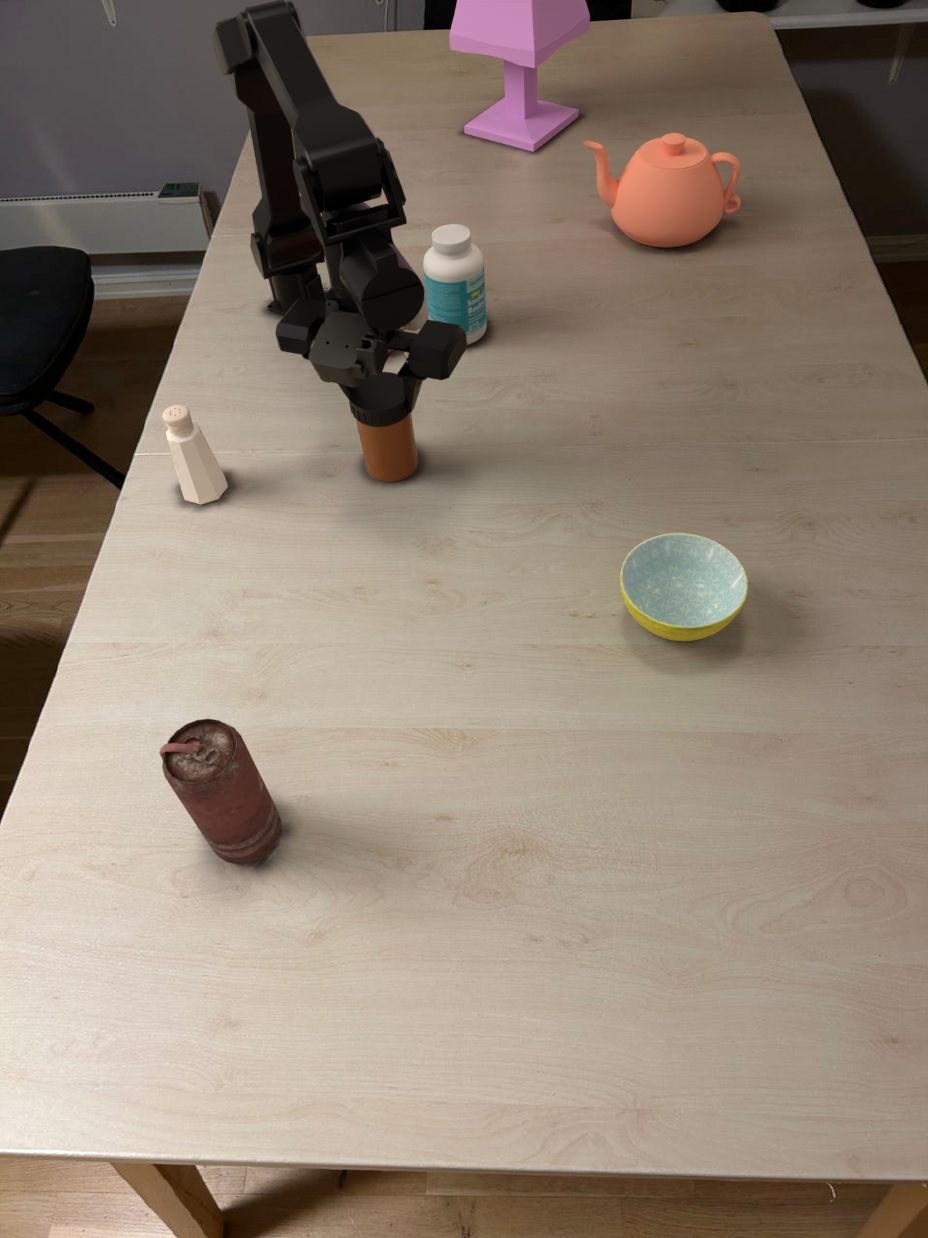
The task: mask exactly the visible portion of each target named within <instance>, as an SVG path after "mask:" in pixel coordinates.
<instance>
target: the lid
mask: <svg viewBox="0 0 928 1238" xmlns="http://www.w3.org/2000/svg"><path fill="white" fill-rule="evenodd" d="M397 374H398V373H395V372H392V371H382V373H381V374H380V375H379V376H378V375H370V376H369V378H368V379H365V381H364V383H363V384H362V385H360V386H358V387H351V388H350V390H349V400H348V401H349V402H348V403H349V407H350V412H351V414H352V416H353V419H355V420H358V421H359V422H360V423H362V424H365V425H368V426H373V427H383V426H389V425H393V424H395V423H398V422H400V421H401V420H403V419H404V418H405V417H407V415H408V414H409V413H408V412H407V409H406V405H405V398H404V387H403V379H402V378H400V377H398V376H397Z"/></svg>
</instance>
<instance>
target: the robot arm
mask: <svg viewBox="0 0 928 1238" xmlns="http://www.w3.org/2000/svg"><path fill="white" fill-rule="evenodd" d="M214 27H215V28H214V30H213V32H212V35H211V41H212V42H211V43H212V47H213V52H214V54H215V58H216V61H217V64H218V66H219V69H220V71H221V74H222V75H223V76H227V78H228V80H229V83H230V85H231V87H232V89H233V91H234V93H235V96H236V97H237V100H239V101H240V102H241V103H242V104H243V105H244V106H245V108H246V112H247V113H246V114H247V119H248V125H249V130H250V136H251V142H252V148H253V153H254V158H255V164H256V170H257V175H258V181H259V187H260V194H261V198H260V200H259V201H258V203H257V205H256V206H255V208H254V210H253V212H252V214H251V217H252V224H253V225H252V226H253V231H254V232H251V233H250V242H249V243H250V244H249V246H250V248H249V249H250V251H251V254H252V257H253V260H254V264H255V265H256V267H257V269H258V271H259V273H260V274H261V276H262V278H263V280H268V283H269V286H270V291H271V294H272V299H273V300H272V301H271V302H269V304H268V305H267V306H266V310H267V311H268V312H271V313H274V314H278V315H281V316H283V317H282V318H281V319H280V320H279V321H278V323H277V324H276V326H275V332H274V335H275V339H276V341H277V342H276V343H277V346H278V349H279V350H280V351H281V352H285V353H291V354H295V355H300V356H301V357H302V359H304V360H306V361H309V362H310V364H311V365H312V367H313V369H314V371H315V372H316V374H317V375H318V377H319V379H320V380H321V381H322V382H324V383H328V384H329V383H333V384H334V383H335V384H337V386H338V387H339V388H340V390H341V391H342V393H343V394H344V396H345V397H346V398H347V400H348V401H349V390H350V388H351V387H358V386H360V385H362V384H363V383H364V381H365V379H368V378H369V376H370V375H378V376H379V375H380V374H381V373H382V372H384V369H385V365H386V363H387V361H388V358H389V353H388V349H390V350H393V351H396V352H402V353H404V358H405V360H404V361H405V362H404V363H403V364H402V366H401V367H400V369H399V371H398V372H397V373H396V374H397V376H398V377H400V378H402V379H403V387H404V398H405V405H406V409H407V412H408V413H411V414H412V413H413V411H414V409H415V407H416V404H417V401H418V397H419V394H420V392H421V388H422V385H423V383H424V382H423V381H426V380H427V379H432V380H437V381H444V380H447V379H450V377H451V375H452V374H453V373H454V370H455V369H456V368H457V365H458V364H459V362H460V360H461V359H462V356H463V355H464V353H465V352H466V350H467V349H468V345H467V338H466V332H465V330H464V329H463V327H462V326H460V325H458V324H452V323H446V322H440V321H434V320H429V318H428V319H426V321H425V322H424V324H423V325H422V326H421V327H419V328H417V329H415V330H412V329H409V330H406V329H400V328H402V327H403V326H405V325H407V324H409V323H410V324H411V322H413V320H415V318H416V317H417V316H418V315H419V313H420V312H421V310H422V308H423V305H424V301H425V295H426V290H425V285H424V284H423V282H422V280H421V279H420V276H419V275H418V274H417V273H416V271H415V270H414V269H413V267H412V266H411V264H410V263H409V262H408V260H407V259H406V258H405V256H403V254H402V253H401V251H400V250H399V249H398V248H397V246H396V244H395V242H394V240H393V235H392V229H394V228H398V227H402V226H404V225H407V224H408V221H407V217H406V213H405V210H404V206H405V204H406V202H407V197H406V195H405V192H404V189H403V186H402V184H401V181H400V178H399V175H398V172H397V169H396V167H395V164H394V161H393V158H392V155H391V151H389V150H388V149H387V148H386V147H385V142H384V140H382V139H381V138H380V137H379V136H375V134H374V132H373V131H372V129H371V128H370V126H369V125H368V124H367V121H366V120H365V119H364V117H363V116H362V114H361V113H359V112H358V111H356V110H354V109H352V108H349V107H347V106H345V105H342V104H340V103H339V101H338V99H337V98H336V96H335V95H334V92H333V91H332V88H331V87H330V85H329V83H328V81H327V79H326V77H325V75H324V73H323V72H322V69H321V67H320V66H319V64H318V61H317V60H316V58H315V56H314V54H313V52H312V50H311V48H310V46H309V44H308V40H307V36H306V33H305V29H304V25H303V22H302V18H301V14H300V11H299V8H298V7H296V6H295V4H294V2H293V1H292V0H269V1H265V2H261V3H257V4H252V5H246V6H244V7H243V10H241V11H238V12H237V13H236V15H234V16H229V17H225V18H221V19H219V22H216V23H215V26H214ZM382 194H384V196H385V199H386V202H387V203H381V204H379V205H375V206H372V207H371V206H370V205H369V204H367V203H366V202H369V201H372V200H376V199H380V198H381V197H382ZM324 263H325V264H326V269H327V273H328V279H329V284H330V288H329V290H328V291H324V287H323V281H322V277H321V274H319V271H318V267H317V266H318V265H317V264H324Z"/></svg>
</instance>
